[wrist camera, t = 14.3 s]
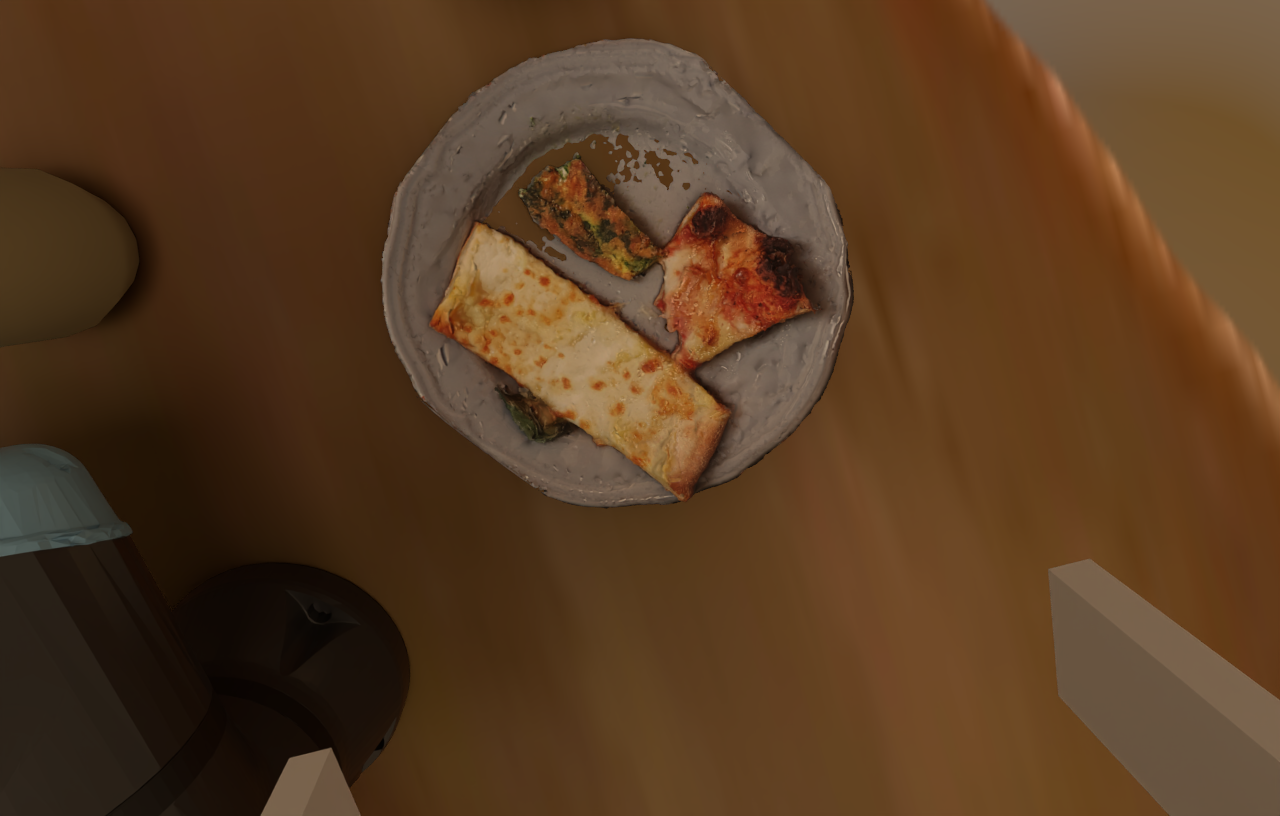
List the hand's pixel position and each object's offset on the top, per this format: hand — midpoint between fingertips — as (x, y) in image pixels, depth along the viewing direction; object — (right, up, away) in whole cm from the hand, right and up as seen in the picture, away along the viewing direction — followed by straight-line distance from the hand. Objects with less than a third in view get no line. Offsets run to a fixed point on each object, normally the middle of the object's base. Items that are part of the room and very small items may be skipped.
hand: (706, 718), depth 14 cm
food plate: (-2, +12, +30) cm, 32 cm away
